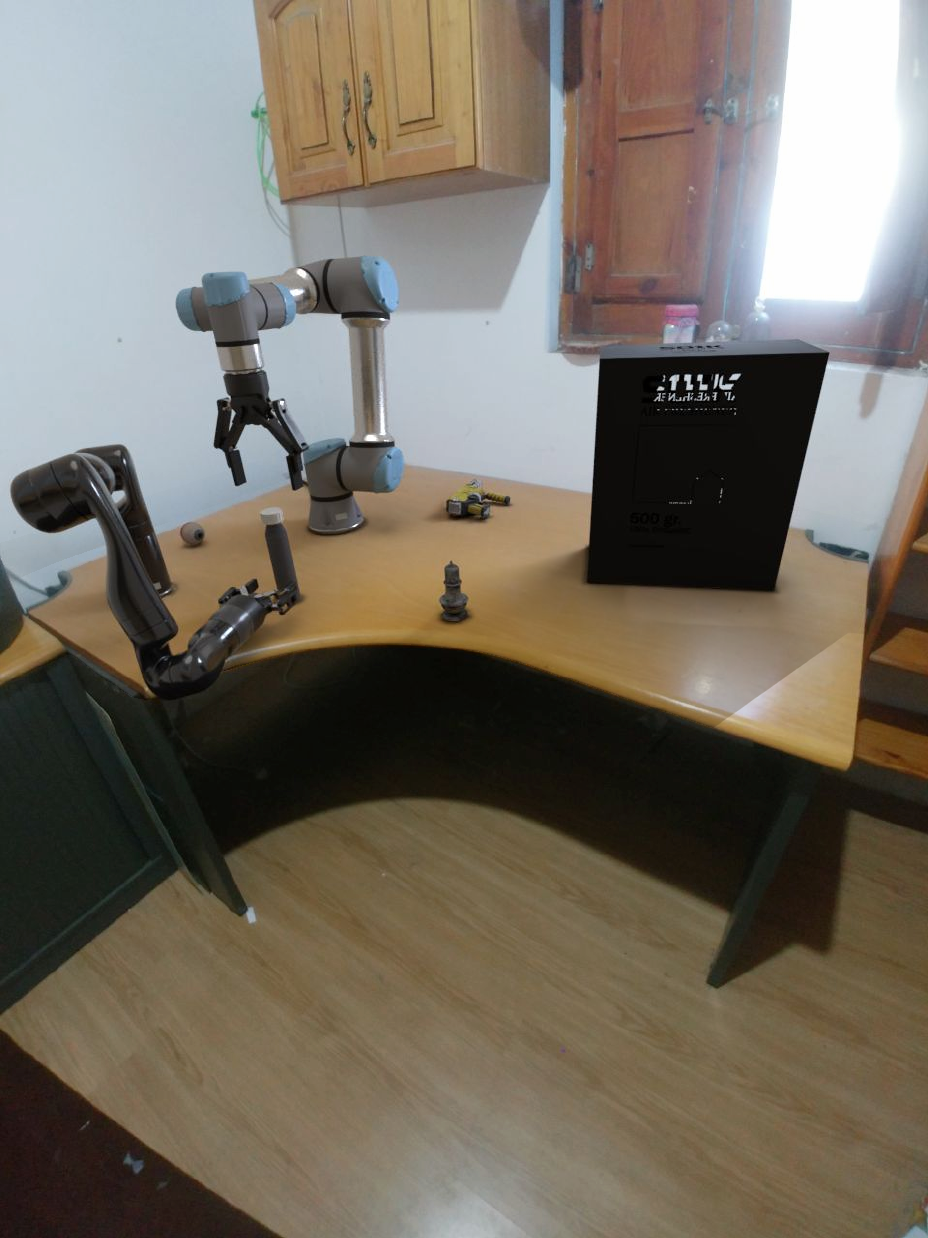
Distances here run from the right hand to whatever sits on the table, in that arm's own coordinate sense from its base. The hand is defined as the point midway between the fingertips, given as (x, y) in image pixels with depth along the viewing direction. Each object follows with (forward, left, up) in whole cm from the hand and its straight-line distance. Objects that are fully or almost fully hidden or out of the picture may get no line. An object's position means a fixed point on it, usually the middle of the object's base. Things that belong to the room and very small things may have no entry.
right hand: (269, 486), depth 119 cm
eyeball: (-49, -8, -25) cm, 56 cm away
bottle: (0, -1, -25) cm, 25 cm away
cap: (0, -1, -5) cm, 5 cm away
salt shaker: (+29, +22, -25) cm, 45 cm away
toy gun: (-18, +66, -25) cm, 73 cm away
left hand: (+2, -4, -19) cm, 20 cm away
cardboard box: (+44, +72, -25) cm, 88 cm away
